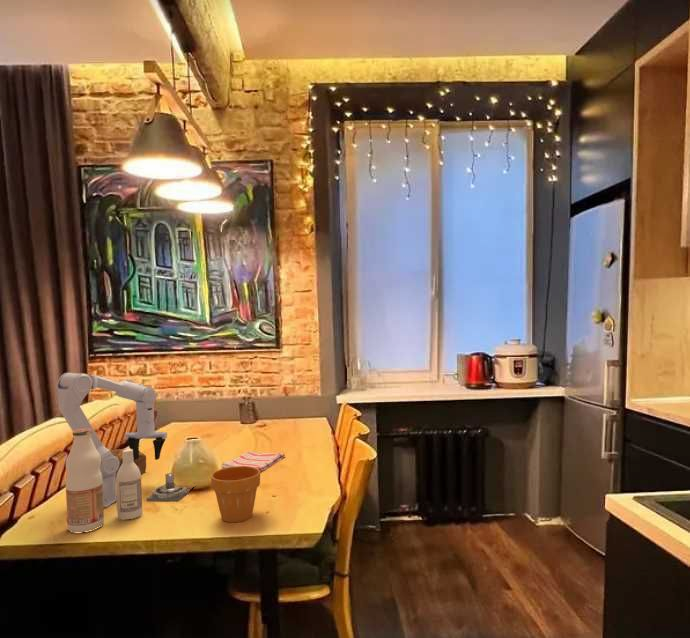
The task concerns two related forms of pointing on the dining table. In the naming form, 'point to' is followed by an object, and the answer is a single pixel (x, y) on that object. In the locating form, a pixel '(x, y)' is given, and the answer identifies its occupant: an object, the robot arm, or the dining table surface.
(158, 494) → the carrier plate
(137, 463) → the bread
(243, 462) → the dish towel
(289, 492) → the dining table surface
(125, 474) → the bath foam
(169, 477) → the planet gear
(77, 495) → the fruit juice
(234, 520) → the flower pot
